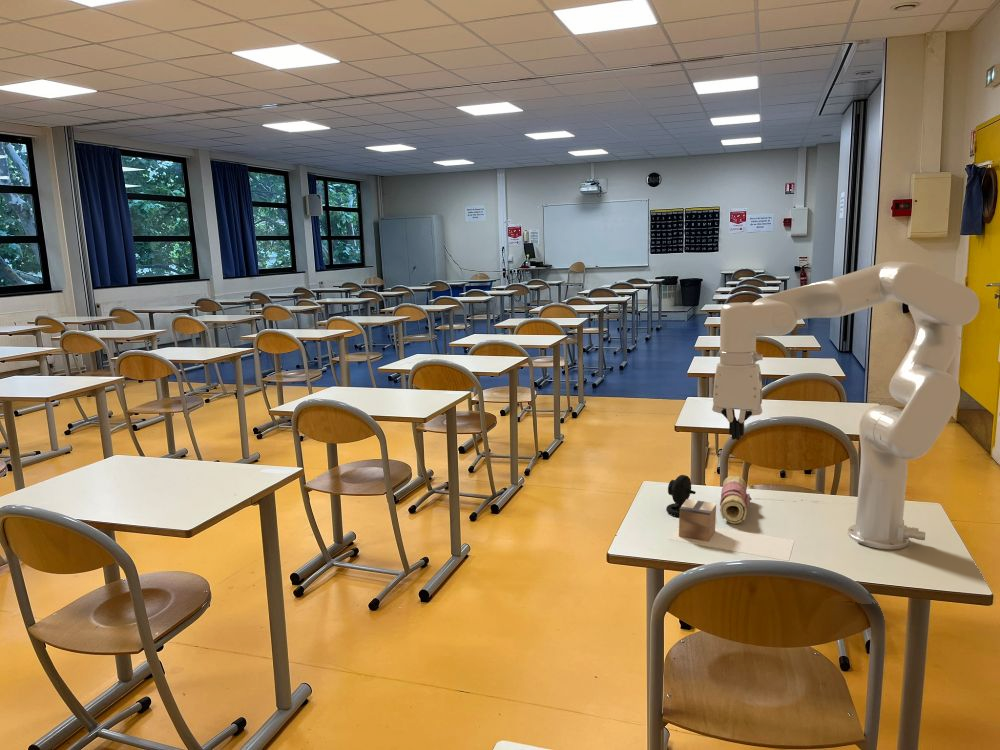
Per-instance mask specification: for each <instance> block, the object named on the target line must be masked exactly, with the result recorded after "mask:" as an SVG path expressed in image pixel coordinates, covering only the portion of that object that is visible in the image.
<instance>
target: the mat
mask: <svg viewBox="0 0 1000 750" xmlns="http://www.w3.org/2000/svg"><path fill="white" fill-rule="evenodd" d="M669 540H670V541H675V542H681V543H687V544H693V545H698V546H704V547H709V548H713V549H714V548H715V549H721V550H727V551H731V552H736V553H737V552H738V553H741V554H748V555H754V556H759V557H764V558H768V559H769V558H770V559H776V560H780V559H781V560H782V561H786V560H789V561H790V558H791V554H792V550H793V547H794V543H795V539H788V538H784V537H777V536H772V535H765V534H760V533H754V532H747V531H743V530H741V531H740V530H736V529H729V528H724V527H718V526H715V532H714V534H713V536H712V537H711V539H710V541H709V542H707V541H701V540H695V539H690V538H684V537H679V526H678V527H677V528H676V530H675V531H674V532H673V534H672V535H671V537H670V538H669Z"/></svg>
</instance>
